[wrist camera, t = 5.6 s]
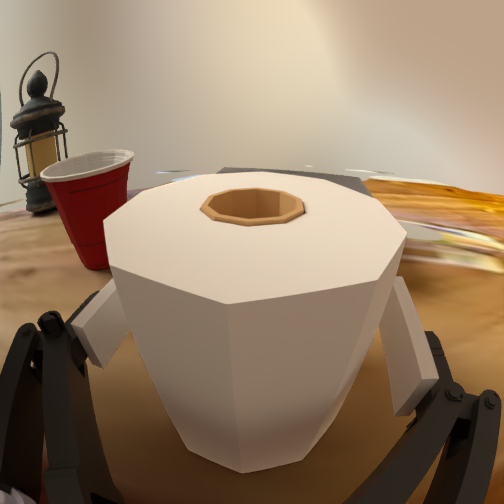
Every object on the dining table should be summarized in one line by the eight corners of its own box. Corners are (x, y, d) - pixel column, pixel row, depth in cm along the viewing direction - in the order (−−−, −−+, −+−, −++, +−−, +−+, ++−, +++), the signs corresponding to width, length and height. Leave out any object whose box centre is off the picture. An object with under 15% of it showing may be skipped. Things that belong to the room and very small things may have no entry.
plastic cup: (83, 297, 23) (49, 176, 17) (55, 261, 29) (32, 170, 23) (166, 253, 31) (153, 147, 25) (121, 230, 36) (109, 146, 30)
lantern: (15, 219, 43) (-1, 67, 26) (51, 197, 55) (40, 64, 38) (50, 219, 41) (35, 40, 24) (90, 195, 53) (80, 44, 36)
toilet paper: (364, 391, 15) (434, 211, 9) (245, 507, 9) (230, 401, 3) (255, 319, 22) (257, 161, 16) (139, 387, 15) (74, 207, 9)
